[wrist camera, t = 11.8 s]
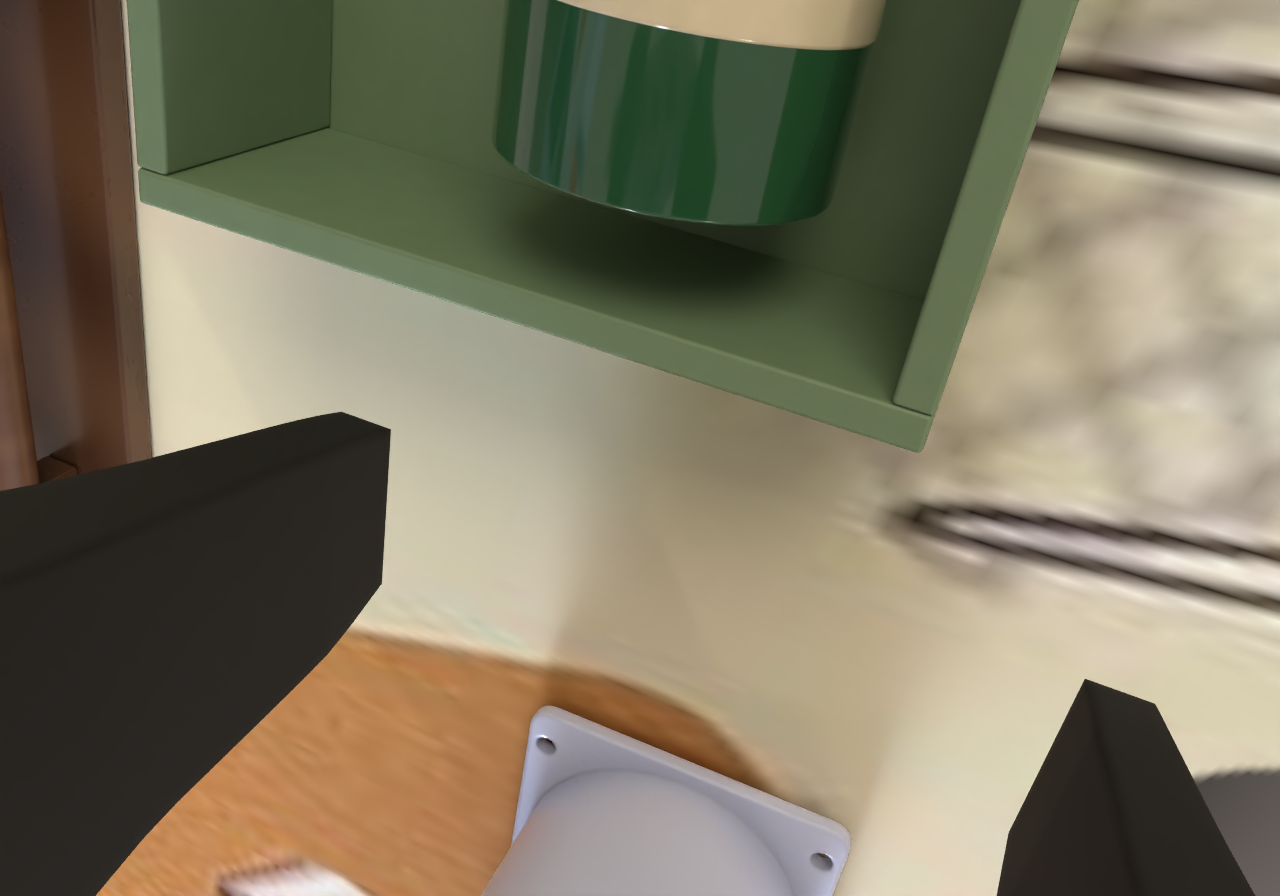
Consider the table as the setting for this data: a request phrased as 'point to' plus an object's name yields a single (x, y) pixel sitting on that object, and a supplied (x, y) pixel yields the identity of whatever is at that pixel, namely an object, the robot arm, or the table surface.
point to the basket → (597, 234)
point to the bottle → (685, 102)
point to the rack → (67, 247)
